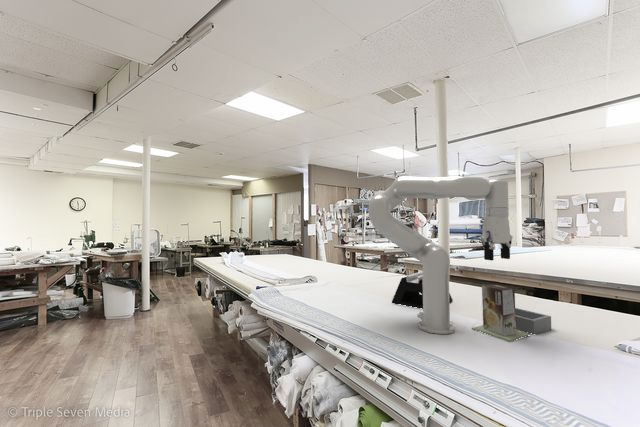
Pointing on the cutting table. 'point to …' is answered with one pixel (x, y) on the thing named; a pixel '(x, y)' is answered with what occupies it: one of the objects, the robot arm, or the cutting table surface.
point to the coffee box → (499, 309)
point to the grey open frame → (532, 321)
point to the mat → (506, 338)
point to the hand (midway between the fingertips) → (497, 259)
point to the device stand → (411, 291)
